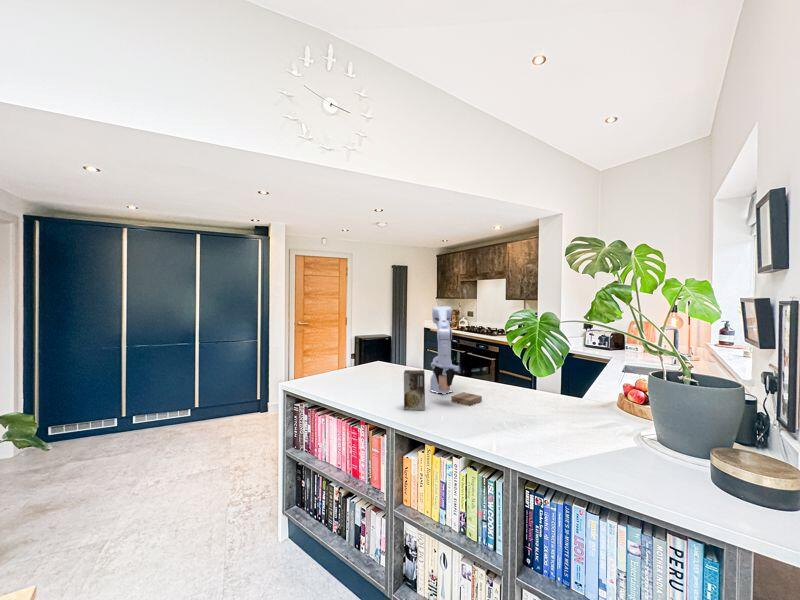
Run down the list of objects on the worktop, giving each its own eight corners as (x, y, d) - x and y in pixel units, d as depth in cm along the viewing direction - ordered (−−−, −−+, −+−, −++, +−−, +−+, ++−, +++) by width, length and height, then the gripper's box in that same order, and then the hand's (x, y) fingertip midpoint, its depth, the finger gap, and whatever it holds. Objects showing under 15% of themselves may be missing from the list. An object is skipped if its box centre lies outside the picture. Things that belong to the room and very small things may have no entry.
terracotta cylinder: (436, 388, 161) (436, 375, 160) (443, 386, 164) (443, 374, 164) (445, 390, 157) (445, 377, 157) (452, 388, 160) (452, 375, 160)
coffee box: (425, 406, 158) (425, 370, 157) (424, 410, 151) (424, 373, 151) (404, 405, 158) (404, 369, 158) (403, 410, 152) (403, 372, 152)
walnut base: (451, 401, 164) (451, 396, 164) (463, 397, 171) (463, 392, 171) (469, 406, 157) (469, 400, 157) (481, 401, 164) (481, 396, 164)
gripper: (426, 353, 163) (426, 383, 163) (452, 357, 153) (452, 389, 153) (436, 352, 168) (436, 380, 168) (461, 355, 158) (461, 386, 158)
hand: (444, 384), depth 161 cm, fingers closed on terracotta cylinder, 5 cm apart
